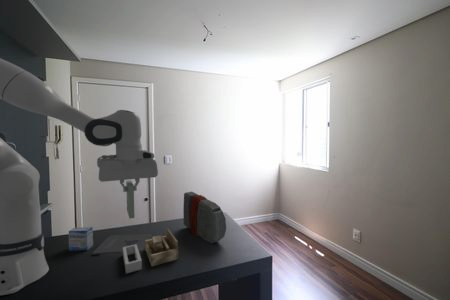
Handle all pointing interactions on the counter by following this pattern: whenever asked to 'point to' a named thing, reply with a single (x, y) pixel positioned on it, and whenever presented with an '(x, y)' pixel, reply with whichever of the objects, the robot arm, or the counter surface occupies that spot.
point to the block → (130, 198)
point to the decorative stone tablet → (203, 217)
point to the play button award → (121, 243)
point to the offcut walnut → (157, 249)
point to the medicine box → (80, 238)
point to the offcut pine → (157, 241)
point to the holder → (134, 264)
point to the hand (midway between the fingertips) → (130, 191)
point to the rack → (169, 250)
